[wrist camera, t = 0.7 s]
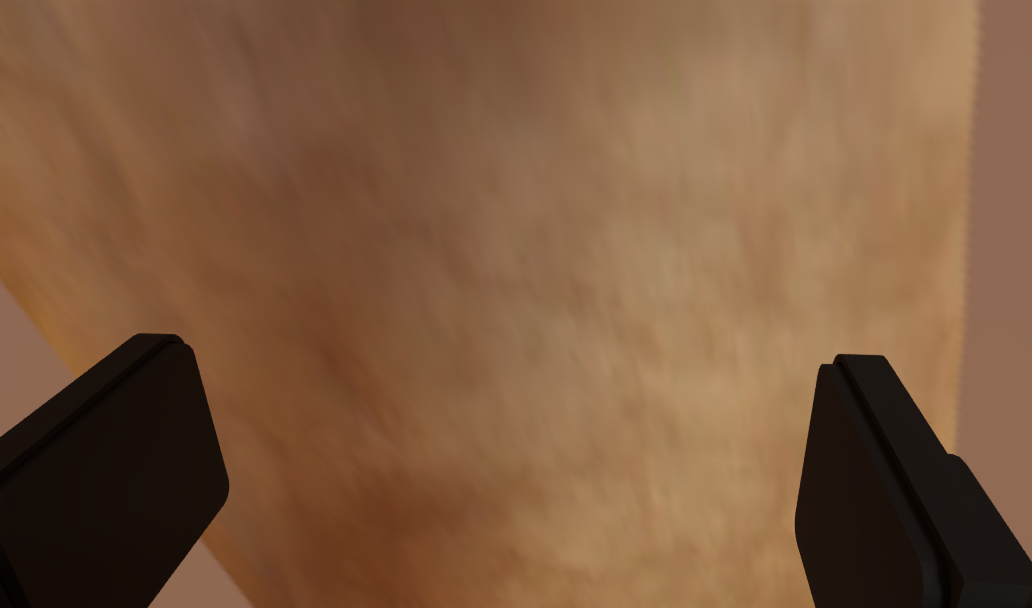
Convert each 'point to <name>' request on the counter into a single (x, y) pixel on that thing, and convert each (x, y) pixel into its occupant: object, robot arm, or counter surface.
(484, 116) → the counter surface
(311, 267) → the counter surface
